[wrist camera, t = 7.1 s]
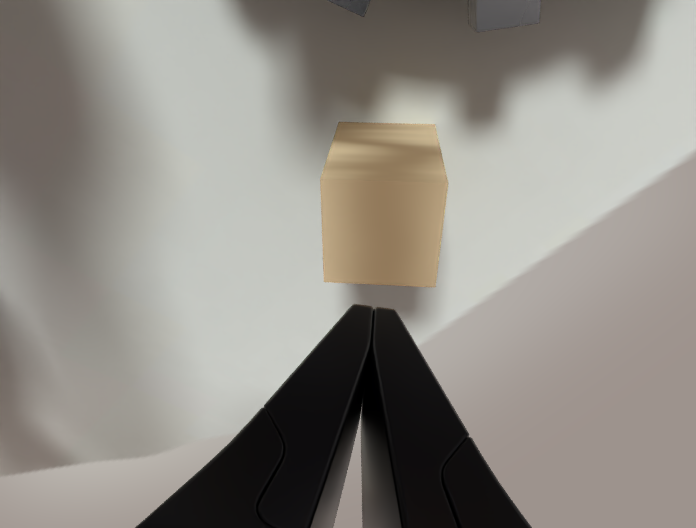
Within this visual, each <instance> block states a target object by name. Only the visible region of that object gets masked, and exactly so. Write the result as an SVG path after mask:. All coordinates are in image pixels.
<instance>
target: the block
mask: <svg viewBox="0 0 696 528" xmlns="http://www.w3.org/2000/svg"><path fill="white" fill-rule="evenodd" d="M320 184H321V213H322V242H323V270H324V282H334V283H355V284H376V285H397V286H417V287H435V286H436V278H437V270H438V262H439V254H440V246H441V238H442V230H443V221H444V213H445V205H446V197H447V189H448V180H447V176H446V171H445V167H444V162H443V158H442V153H441V149H440V145H439V140H438V136H437V131H436V127H435V124H398V123H358V122H339V123H338V126H337V129H336V133H335V136H334V139H333V142H332V145H331V148H330V151H329V154H328V157H327V160H326V163H325V166H324V169H323V172H322V175H321V178H320Z"/></svg>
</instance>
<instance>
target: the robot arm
mask: <svg viewBox="0 0 696 528" xmlns="http://www.w3.org/2000/svg"><path fill="white" fill-rule="evenodd" d="M361 407H362V411H361ZM360 414H361V463H362V464H361V466H362V519H363V521H362V522H363V528H532V527H531V526H530V524H529V523H528V522H527V521H526V519H525V518H524V516H523V515H522V514H521V513H520V511H519V510H518V508H517V507H516V506H515V504H514V503H513V501H512V500H511V499H510V497H509V496H508V494H507V493H506V492H505V490H504V489H503V487H502V486H501V485H500V483H499V482H498V480H497V479H496V477H495V475H494V474H493V472H492V471H491V469H490V467H489V466H488V464H487V463H486V461H485V460H484V458H483V456H482V455H481V453H480V451H479V450H478V448H477V447H476V445H475V443H474V441H473V439H472V438H471V437H469V433H468V432H467V430H466V428H465V426H464V425H463V423H462V421H461V420H460V418H459V416H458V414H457V413H456V411H455V409H454V408H453V406H452V404H451V403H450V401H449V399H448V398H447V396H446V394H445V393H444V391H443V390H442V387H441V386H440V384H439V382H438V381H437V379H436V377H435V376H434V374H433V372H432V371H431V369H430V367H429V366H428V364H427V362H426V361H425V359H424V357H423V356H422V354H421V352H420V350H419V349H418V347H417V345H416V344H415V342H414V340H413V339H412V337H411V335H410V333H409V332H408V330H407V328H406V327H405V325H404V323H403V322H402V320H401V318H400V317H399V315H398V313H397V312H396V311H395V310H394V309H388V308H381V307H376V308H375V309H373V307H371V306H366V305H358V304H354V305H352V306H351V307H350V308H349V309H348V310H347V312H346V313H345V314H344V315H343V316H342V317H341V318H340V320H339V321H338V322H337V323H336V324H335V325H334V326H333V328H332V329H331V330H330V331H329V332H328V333H327V334H326V335H325V337H324V338H323V339H322V340H321V341H320V342H319V343H318V345H317V346H316V347H315V348H314V349H313V350H312V351H311V353H310V354H309V355H308V356H307V357H306V358H305V359H304V361H303V362H302V363H301V364H300V365H299V366H298V367H297V368H296V370H295V371H294V372H293V373H292V374H291V375H290V376H289V378H288V379H287V380H286V381H285V382H284V383H283V384H282V386H281V387H280V388H279V389H278V390H277V391H276V392H275V393H274V395H273V396H272V397H271V398H270V399H269V400H268V401H267V403H266V404H265V405H264V408H261V409H260V410H259V411H258V413H257V414H256V415H255V416H254V417H253V418H252V419H251V421H250V422H249V423H248V424H247V425H246V426H245V427H244V428H243V429H242V430H241V431H240V432H239V433H238V434H237V435H236V437H235V438H234V439H233V440H232V441H231V442H230V443H229V444H228V445H227V446H226V447H225V448H224V449H222V450H221V451H220V452H219V453H218V454H217V455H216V456H215V457H214V458H213V459H212V460H211V461H210V462H209V463H208V464H206V465H205V466H204V467H203V468H202V469H201V470H200V471H199V472H197V473H196V474H195V475H194V476H193V477H192V478H191V479H190V480H188V481H187V482H186V483H185V484H184V485H183V486H182V487H181V488H179V489H178V490H177V491H176V492H175V493H174V494H173V495H172V496H170V497H169V498H168V499H167V500H166V501H165V502H164V503H163V504H161V505H160V506H159V507H158V508H157V509H156V510H155V511H154V512H152V513H151V514H150V515H149V516H148V517H147V518H146V519H145V520H143V521H142V522H141V523H140V524H139V525H138V526H136V527H135V528H333V526H334V522H335V518H336V514H337V510H338V506H339V502H340V498H341V494H342V490H343V486H344V482H345V478H346V474H347V470H348V466H349V461H350V457H351V453H352V449H353V445H354V441H355V437H356V433H357V429H358V424H359V420H360Z"/></svg>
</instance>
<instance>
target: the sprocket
mask: <svg viewBox="0 0 696 528" xmlns="http://www.w3.org/2000/svg"><path fill="white" fill-rule="evenodd" d="M327 1H330V2H332V3H334V4H336V5H339V6H341V7H343V8H345V9H347V10H350V11H352V12H354V13H356V14H358V15H361V16H363V17H364V15H365V13H366V11H367V8H368V6H369V3H370V0H327ZM540 5H541V0H468V24H469V25H470V26H471V27H472V28H473V29H474V30H475V31H476V32H482V31H489V30H496V29H503V28H509V27H516V26H523V25H530V24H536V23H539V21H540Z"/></svg>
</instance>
